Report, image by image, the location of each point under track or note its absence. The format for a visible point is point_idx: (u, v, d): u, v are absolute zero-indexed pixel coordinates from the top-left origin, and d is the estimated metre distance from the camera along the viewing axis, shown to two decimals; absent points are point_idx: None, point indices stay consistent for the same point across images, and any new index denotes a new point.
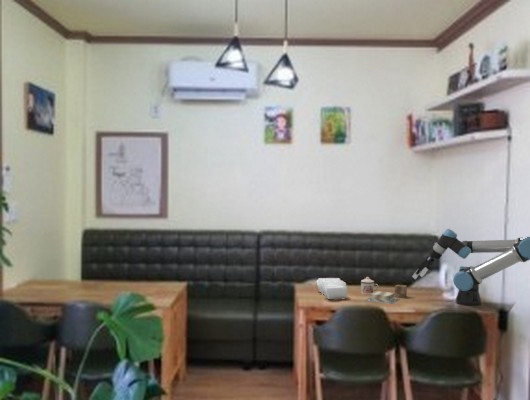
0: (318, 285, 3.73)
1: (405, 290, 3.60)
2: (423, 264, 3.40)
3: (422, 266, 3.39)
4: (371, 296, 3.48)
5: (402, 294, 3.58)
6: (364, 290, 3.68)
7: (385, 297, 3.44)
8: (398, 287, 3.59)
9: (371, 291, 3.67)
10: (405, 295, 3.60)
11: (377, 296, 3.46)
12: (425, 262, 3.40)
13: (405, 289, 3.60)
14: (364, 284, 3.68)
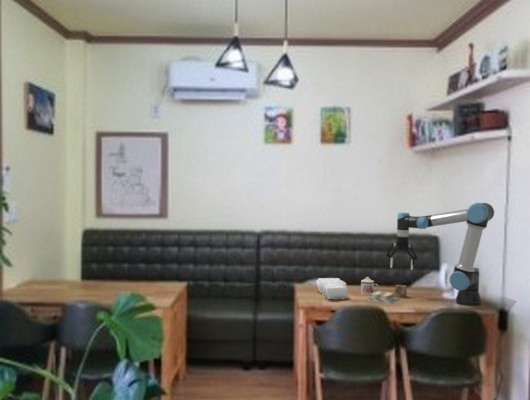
0: (318, 285, 3.73)
1: (405, 290, 3.60)
2: None
3: None
4: (371, 296, 3.48)
5: (402, 294, 3.58)
6: (364, 290, 3.68)
7: (385, 297, 3.44)
8: (398, 287, 3.59)
9: (371, 291, 3.67)
10: (405, 295, 3.60)
11: (377, 296, 3.46)
12: None
13: (405, 289, 3.60)
14: (364, 284, 3.68)
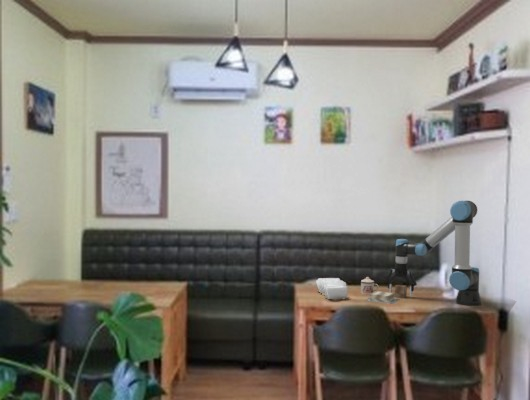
0: (318, 285, 3.73)
1: (405, 290, 3.60)
2: None
3: (387, 278, 3.65)
4: (371, 296, 3.48)
5: (402, 294, 3.58)
6: (364, 290, 3.68)
7: (385, 297, 3.44)
8: (398, 287, 3.59)
9: (371, 291, 3.67)
10: (405, 295, 3.60)
11: (377, 296, 3.46)
12: None
13: (405, 289, 3.60)
14: (364, 284, 3.68)
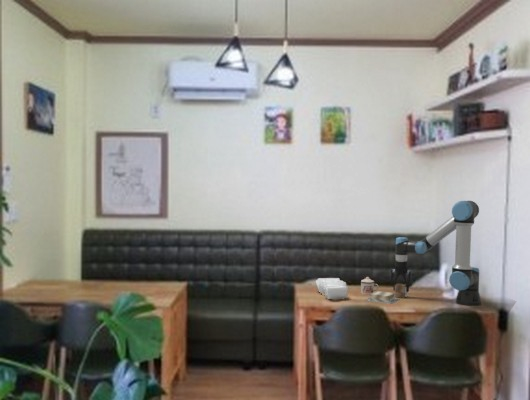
0: (317, 285, 3.73)
1: None
2: None
3: None
4: (371, 296, 3.48)
5: (402, 293, 3.57)
6: (364, 290, 3.68)
7: (385, 297, 3.44)
8: (398, 286, 3.59)
9: (371, 291, 3.67)
10: None
11: (377, 296, 3.46)
12: None
13: None
14: (364, 284, 3.68)
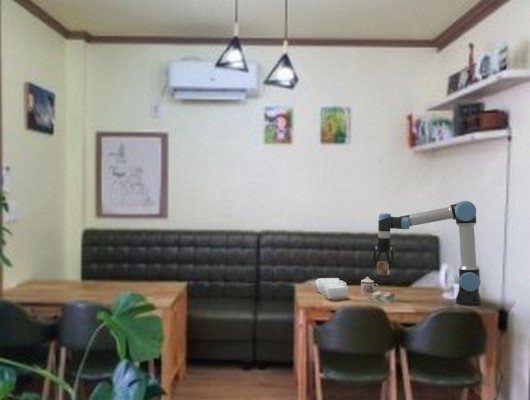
0: (317, 285, 3.73)
1: None
2: None
3: None
4: (371, 296, 3.48)
5: (384, 270, 3.47)
6: (364, 290, 3.68)
7: (385, 297, 3.44)
8: (380, 263, 3.49)
9: (371, 291, 3.67)
10: None
11: (377, 296, 3.46)
12: None
13: None
14: (364, 284, 3.68)
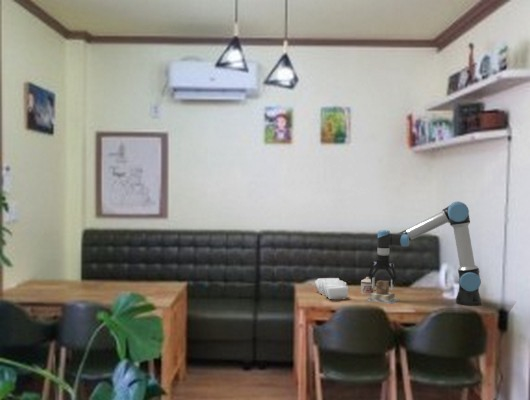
0: (317, 285, 3.73)
1: (387, 285, 3.50)
2: None
3: None
4: (371, 296, 3.48)
5: (384, 290, 3.47)
6: (364, 290, 3.68)
7: (385, 297, 3.44)
8: (380, 282, 3.49)
9: (371, 291, 3.67)
10: (387, 291, 3.50)
11: (377, 296, 3.46)
12: None
13: (387, 284, 3.49)
14: (364, 284, 3.68)
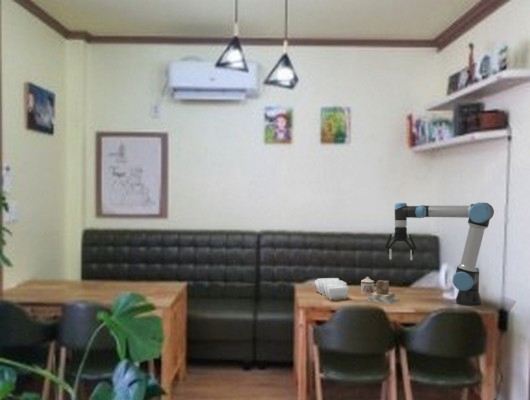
0: (317, 285, 3.72)
1: (387, 285, 3.50)
2: None
3: None
4: (371, 296, 3.48)
5: (384, 290, 3.47)
6: (364, 290, 3.68)
7: (385, 297, 3.44)
8: (380, 282, 3.49)
9: (371, 291, 3.67)
10: (387, 291, 3.50)
11: (377, 296, 3.46)
12: None
13: (387, 284, 3.49)
14: (364, 284, 3.68)
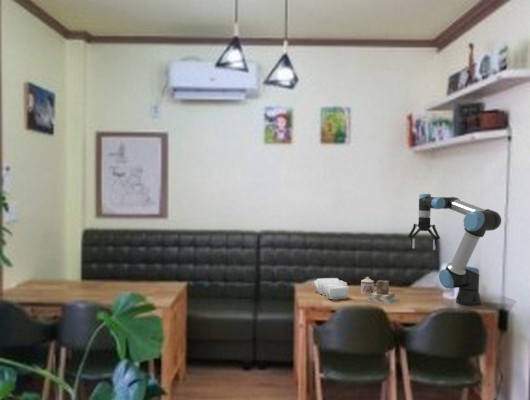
0: (316, 285, 3.72)
1: (387, 285, 3.50)
2: None
3: None
4: (371, 296, 3.48)
5: (384, 290, 3.47)
6: (364, 290, 3.68)
7: (385, 297, 3.44)
8: (380, 282, 3.49)
9: (371, 291, 3.67)
10: (387, 291, 3.50)
11: (377, 296, 3.46)
12: None
13: (387, 284, 3.49)
14: (364, 284, 3.68)
